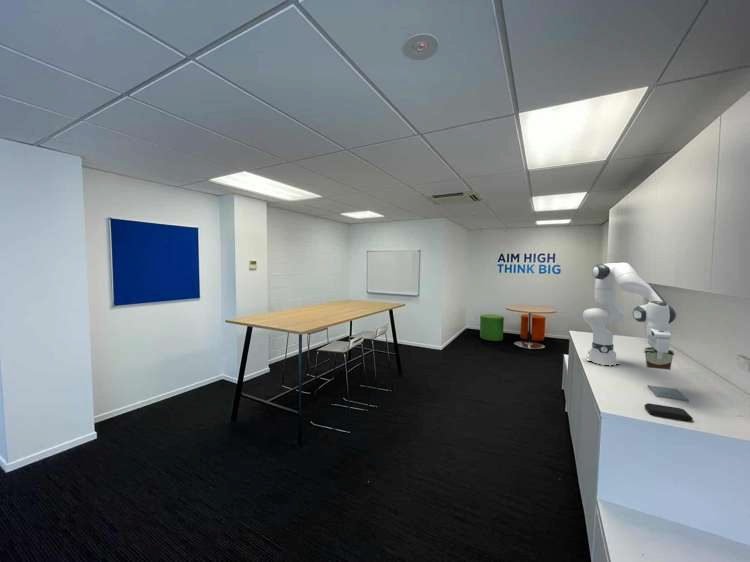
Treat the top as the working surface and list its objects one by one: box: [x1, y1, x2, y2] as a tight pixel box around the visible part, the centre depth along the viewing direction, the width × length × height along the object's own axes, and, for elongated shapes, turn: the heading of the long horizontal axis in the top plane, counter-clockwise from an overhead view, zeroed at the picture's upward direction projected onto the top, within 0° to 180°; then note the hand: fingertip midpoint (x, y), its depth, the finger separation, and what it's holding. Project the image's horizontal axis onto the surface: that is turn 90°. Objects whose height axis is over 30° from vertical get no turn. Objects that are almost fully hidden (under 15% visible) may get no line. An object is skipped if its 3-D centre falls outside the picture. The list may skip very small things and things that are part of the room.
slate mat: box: [647, 384, 690, 402], centre depth 158 cm, size 15×12×1 cm
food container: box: [643, 346, 675, 371], centre depth 159 cm, size 12×6×10 cm, turn 64°
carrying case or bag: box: [644, 403, 694, 422], centre depth 136 cm, size 11×3×15 cm
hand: (657, 357), depth 159 cm, fingers closed on food container, 5 cm apart
